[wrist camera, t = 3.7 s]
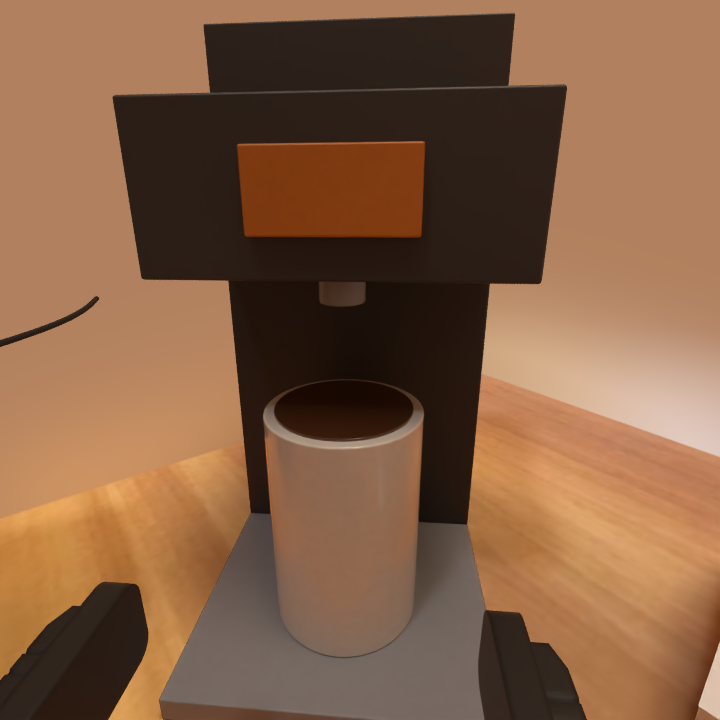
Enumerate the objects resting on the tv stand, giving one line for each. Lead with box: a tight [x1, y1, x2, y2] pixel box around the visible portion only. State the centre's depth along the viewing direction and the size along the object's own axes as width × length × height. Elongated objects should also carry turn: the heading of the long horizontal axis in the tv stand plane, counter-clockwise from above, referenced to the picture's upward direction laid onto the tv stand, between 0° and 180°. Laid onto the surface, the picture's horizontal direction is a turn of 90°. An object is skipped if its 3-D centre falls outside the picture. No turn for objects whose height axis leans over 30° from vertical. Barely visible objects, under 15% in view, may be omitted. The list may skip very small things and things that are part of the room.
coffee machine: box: [113, 13, 567, 720], centre depth 19 cm, size 16×12×24 cm
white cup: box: [263, 379, 424, 657], centre depth 18 cm, size 6×6×9 cm
